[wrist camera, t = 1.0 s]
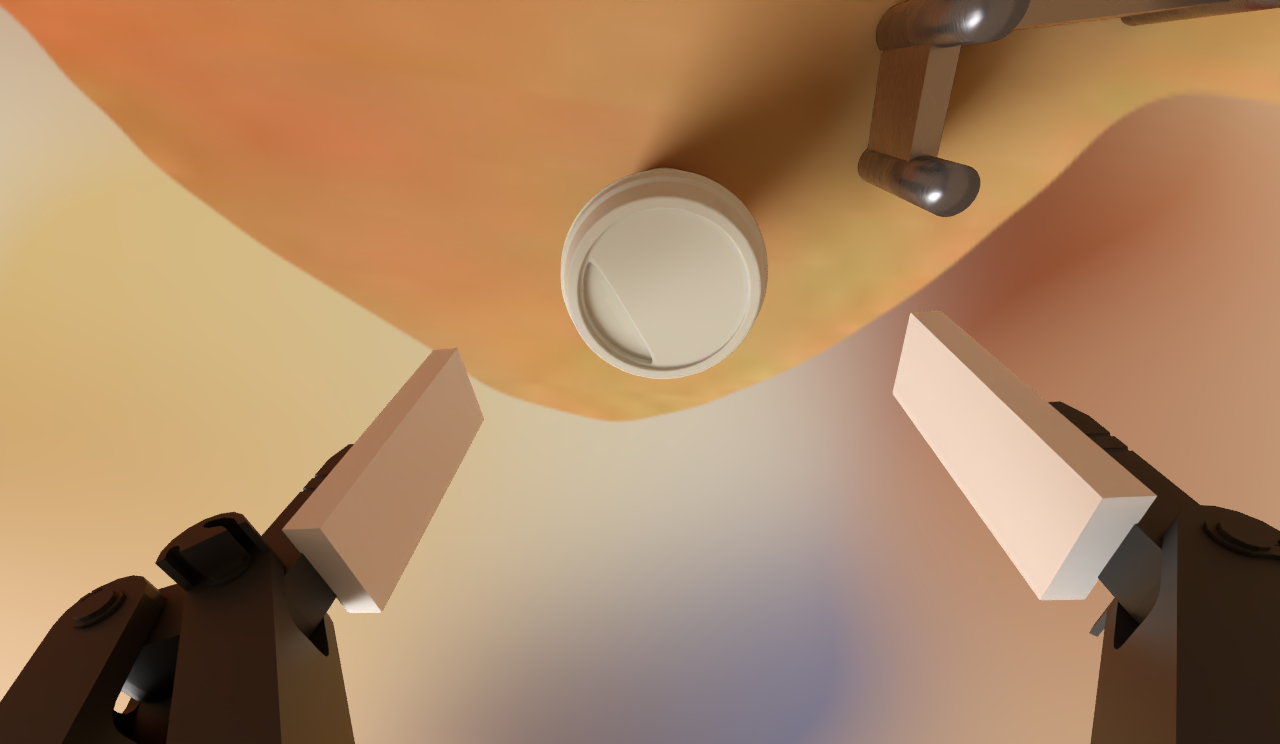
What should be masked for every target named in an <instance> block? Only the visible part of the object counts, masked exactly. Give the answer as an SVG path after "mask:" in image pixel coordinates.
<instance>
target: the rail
mask: <svg viewBox="0 0 1280 744" xmlns="http://www.w3.org/2000/svg"><path fill="white" fill-rule="evenodd" d="M1272 8H1280V0H910V1H907V2H904V3H901V4H898V5H896V6H894V7H892V8H890V9H889V10H888V11H887V12H886V13H885V14H884V15H883V17H882V18H881V20H880V22H879V24H878V27H877V31H876V42H877V45H878V47H879V48H880V50H881V51H882V54H881V61H880V68H879V75H878V82H877V89H876V96H875V102H874V109H873V116H872V123H871V130H870V137H869V144H868V149H867V150H866V151H865V152H864V153H863V154H862V156H861V158H860V160H859V163H858V172H859V175H860V177H861V178H862V179H863V180H865V181H867V182H869V183H871V184H873V185H875V186H877V187H879V188H881V189H883V190H885V191H887V192H889V193H892V194H894V195H896V196H898V197H900V198H902V199H904V200H906V201H908V202H910V203H912V204H914V205H916V206H919V207H921V208H923V209H925V210H927V211H929V212H931V213H933V214H935V215H937V216H941V217H949V216H953V215H956V214H958V213H960V212H962V211H964V210H965V209H966V208H967V207H969V206H970V205H971V203H972V202H973V201H974V200H975V198H976V196H977V194H978V192H979V188H980V177H979V175H978V173H977V171H976V170H975V169H973V168H972V167H970V166H967V165H963V164H959V163H955V162H952V161H948V160H944V159H941V158H937V155H938V150H939V146H940V141H941V136H942V132H943V127H944V123H945V118H946V113H947V109H948V104H949V100H950V95H951V90H952V86H953V81H954V77H955V72H956V67H957V63H958V58H959V54H960V49H961V46H963V45H970V44H978V43H986V42H992V41H996V40H999V39H1001V38H1003V37H1004V36H1006V35H1007V34H1009V33H1010V32H1011V31H1012V30H1020V29H1029V28H1037V27H1045V26H1053V25H1061V24H1070V23H1078V22H1086V21H1094V20H1103V19H1111V18H1119V17H1121V20H1122V21H1123V22H1124V23H1125V24H1127V25H1130V26H1136V25H1144V24H1152V23H1160V22H1168V21H1176V20H1184V19H1192V18H1200V17H1208V16H1216V15H1224V14H1232V13H1240V12H1248V11H1256V10H1264V9H1272Z"/></svg>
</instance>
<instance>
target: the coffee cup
mask: <svg viewBox="0 0 1280 744" xmlns="http://www.w3.org/2000/svg"><path fill="white" fill-rule="evenodd" d="M767 279H768V264H767V253H766V248H765V243H764V240H763V237H762V234H761V231H760V229H759V227H758V225H757V223H756V221H755V219H754V218H753V216H752V214H751V213H750V211H749V210H748V209H747V208H746V206H745V205H744V204H743V203H742V202H741V201H740V200H739V199H738V198H737V197H736V196H735V195H734V194H733V193H732V192H730V191H729V190H728V189H726V188H725V187H723V186H722V185H720V184H719V183H717V182H715V181H713V180H711V179H709V178H707V177H704V176H702V175H699V174H695V173H692V172H687V171H682V170H678V169H674V168H656V169H652V170H649V171H643V172H639V173H635V174H632V175H629V176H626V177H624V178H621V179H619V180H617V181H615V182H613V183H612V184H610V185H608V186H607V187H605V188H604V189H602V190H601V191H600V192H598V193H597V194H596V195H595V196H594V197H593V198H592V199H591V200H590V201H589V202H588V203H587V204H586V205H585V206H584V207H583V208H582V210H581V211H580V212H579V214H578V215H577V217H576V218H575V220H574V222H573V224H572V225H571V227H570V230H569V232H568V234H567V237H566V240H565V243H564V247H563V252H562V258H561V288H562V294H563V298H564V302H565V305H566V308H567V310H568V313H569V315H570V317H571V319H572V321H573V323H574V325H575V327H576V329H577V330H578V332H579V334H580V336H581V337H582V338H583V340H584V341H585V342H586V344H587V345H588V346H589V347H590V348H591V349H592V350H593V351H594V352H595V353H596V354H597V355H598V356H599V357H600V358H602V359H603V360H605V361H606V362H608V363H609V364H611V365H613V366H614V367H616V368H618V369H620V370H622V371H625V372H627V373H630V374H633V375H637V376H641V377H646V378H654V379H672V378H681V377H685V376H689V375H693V374H696V373H699V372H702V371H704V370H706V369H708V368H710V367H712V366H714V365H716V364H717V363H719V362H720V361H722V360H723V359H725V358H726V357H727V356H728V355H730V354H731V353H732V352H733V351H734V350H735V349H736V348H737V347H738V346H739V345H740V343H741V342H742V341H743V340H744V338H745V337H746V335H747V334H748V332H749V331H750V329H751V327H752V325H753V323H754V321H755V320H756V318H757V316H758V314H759V312H760V309H761V307H762V304H763V301H764V297H765V293H766V288H767Z"/></svg>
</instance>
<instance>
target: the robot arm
mask: <svg viewBox="0 0 1280 744" xmlns="http://www.w3.org/2000/svg"><path fill="white" fill-rule="evenodd" d="M893 395H894V396H895V398H896V399H897V401H898V402H899V403H900V405H901V406H902V408H903V409H904V410H905V412H906V413H907V415H908V416H909V417H910V419H911V420H912V422H913V423H914V424H915V426H916V427H917V429H918V430H919V431H920V433H921V434H922V436H923V437H924V438H925V440H926V441H927V443H928V444H929V445H930V447H931V448H932V450H933V451H934V452H935V454H936V455H937V457H938V458H939V459H940V461H941V462H942V464H943V465H944V466H945V468H946V469H947V470H948V472H949V473H950V475H951V476H952V477H953V479H954V481H955V482H956V483H957V485H958V486H959V488H960V489H961V490H962V492H963V493H964V494H965V496H966V497H967V498H968V500H969V502H970V503H971V504H972V506H973V507H974V508H975V510H976V511H977V512H978V514H979V516H980V517H981V518H982V520H983V521H984V522H985V524H986V525H987V527H988V528H989V529H990V531H991V532H992V534H993V535H994V537H995V538H996V539H997V541H998V542H999V543H1000V545H1001V546H1002V548H1003V549H1004V551H1005V552H1006V553H1007V555H1008V556H1009V558H1010V559H1011V560H1012V562H1013V563H1014V564H1015V566H1016V567H1017V568H1018V570H1019V572H1020V573H1021V574H1022V576H1023V577H1024V579H1025V580H1026V581H1027V583H1028V584H1029V586H1030V587H1031V588H1032V590H1033V591H1034V593H1035V594H1036V595H1037V597H1038V598H1039V599H1040V600H1077V599H1085V598H1086V597H1087V595H1088V594H1089V592H1090V591H1091V590H1092V588H1093V587H1094V585H1095V584H1096V582H1097V581H1098V580H1101V582H1102V583H1103V584H1104V585H1105V587H1106V588H1107V589H1108V590H1109V591H1110V592H1111V594H1112V595H1113V596H1114V597H1115V598H1114V599H1113V601H1112V602H1111V603H1110V605H1109V606H1108V607H1107V608H1106V610H1105V611H1104V612H1103V614H1102V615H1101V616H1100V618H1099V619H1098V620H1097V622H1096V623H1095V624H1094V626H1093V628H1092V629H1091V631H1090V633H1091V634H1093V635H1095V636H1099V634H1100V633H1101V632H1102V630H1103V629H1105V630H1104V639H1103V648H1102V655H1101V663H1100V671H1099V680H1098V688H1097V696H1096V704H1095V713H1094V721H1093V729H1092V737H1091V744H1280V531H1279V530H1277V529H1275V528H1273V527H1272V526H1269V525H1268V524H1266V523H1264V522H1263V521H1260V520H1258V519H1255V518H1253V517H1250V516H1248V515H1245V514H1243V513H1240V512H1237V511H1233V510H1229V509H1225V508H1221V507H1216V506H1204V505H1199V504H1198V503H1197V502H1196V501H1195V500H1193V499H1192V498H1191V497H1189V496H1188V495H1187V494H1186V493H1184V492H1183V491H1182V490H1181V489H1180V488H1178V487H1177V486H1176V485H1174V484H1173V483H1172V482H1171V481H1170V480H1168V479H1167V478H1166V477H1165V476H1163V475H1162V474H1161V473H1160V472H1158V471H1157V470H1156V469H1155V468H1153V467H1152V466H1151V465H1150V464H1148V463H1147V462H1146V461H1145V460H1143V459H1142V458H1141V457H1140V456H1138V455H1137V454H1136V453H1135V452H1133V451H1129V450H1128V447H1127V446H1126V445H1125V444H1124V443H1122V442H1121V441H1120V440H1119V439H1117V438H1116V437H1114V436H1110V433H1109V431H1107V430H1106V429H1105V428H1104V427H1102V426H1101V425H1100V424H1098V423H1097V422H1096V421H1095V420H1094V419H1092V418H1091V417H1090V416H1088V415H1087V414H1084V413H1082V412H1080V411H1078V410H1076V409H1074V408H1072V407H1070V406H1068V405H1066V404H1064V403H1062V402H1047V401H1045V400H1044V399H1043V398H1042V397H1041V396H1040V395H1039V394H1037V393H1036V392H1035V391H1034V390H1033V389H1032V388H1030V387H1029V386H1028V385H1027V384H1026V383H1025V382H1023V381H1022V380H1021V379H1020V378H1019V377H1017V376H1016V375H1015V374H1014V373H1013V372H1012V371H1010V370H1009V369H1008V368H1007V367H1006V366H1005V365H1003V364H1002V363H1001V362H1000V361H999V360H997V359H996V358H995V357H994V356H993V355H992V354H990V353H989V352H988V351H987V350H986V349H985V348H984V347H982V346H981V345H980V344H979V343H978V342H977V341H975V340H974V339H973V338H972V337H970V335H968V334H967V333H966V332H965V331H964V330H962V329H961V328H960V327H959V326H958V325H957V324H955V323H954V322H953V321H952V320H951V319H950V318H948V317H947V316H946V315H945V314H944V313H943V312H941V311H940V310H937V311H926V312H925V311H924V312H912V313H910V318H909V322H908V327H907V331H906V336H905V340H904V345H903V349H902V354H901V358H900V363H899V368H898V372H897V376H896V381H895V385H894V390H893ZM483 420H484V418H483V415H482V412H481V410H480V407H479V404H478V402H477V399H476V396H475V394H474V391H473V388H472V386H471V383H470V380H469V378H468V375H467V372H466V370H465V367H464V364H463V362H462V359H461V356H460V354H459V351H458V348H454V349H441V350H433V351H432V353H431V354H430V355H429V356H428V357H427V359H426V360H425V361H424V362H423V363H422V364H421V366H420V367H419V368H418V369H417V370H416V372H415V373H414V374H413V375H412V376H411V378H410V379H409V380H408V381H407V382H406V383H405V385H404V386H403V387H402V388H401V389H400V390H399V392H398V393H397V394H396V395H395V396H394V398H393V399H392V400H391V401H390V402H389V404H388V405H387V406H386V407H385V408H384V409H383V411H382V412H381V413H380V414H379V416H378V417H377V418H376V419H375V420H374V421H373V422H372V424H371V425H370V426H369V427H368V428H367V430H366V431H365V432H364V433H363V434H362V435H361V437H360V438H359V439H358V440H357V442H356V443H355V444H349V445H348V446H346V447H345V448H344V449H342V450H341V451H339V452H338V453H337V454H335V455H334V456H332V457H331V458H330V459H329V460H328V461H327V462H326V463H325V464H324V465H323V467H322V468H321V469H320V470H319V471H318V472H317V474H315V478H312V479H311V480H310V481H309V482H308V484H307V485H306V486H305V487H304V488H303V489H304V491H303V492H300V493H299V494H298V495H297V496H296V497H295V498H294V500H293V501H292V502H291V503H290V504H289V505H288V506H287V508H286V509H285V510H284V511H283V512H282V513H281V514H280V515H279V517H278V518H277V519H276V520H275V521H274V522H273V524H272V525H271V526H270V527H269V528H268V529H267V530H266V532H265V533H264V534H263V535H262V536H261V535H260V534H259V533H258V532H257V531H256V530H255V528H254V527H253V526H252V525H251V524H250V522H249V521H248V520H247V519H246V518H245V517H244V515H242V514H239V513H236V512H230V513H223V514H219V515H216V516H213V517H211V518H207V519H205V520H203V521H201V522H199V523H197V524H195V525H194V526H192V527H190V528H188V529H187V530H185V531H184V532H182V533H181V534H180V535H179V536H177V537H176V538H175V539H173V540H172V541H171V542H170V543H169V544H168V545H167V546H166V547H165V548H164V549H163V550H162V552H161V553H160V555H159V557H158V559H157V561H156V564H157V565H158V566H159V567H160V568H161V569H162V570H163V571H164V572H165V573H167V574H168V575H169V576H170V577H171V578H172V579H173V580H174V581H175V582H176V583H177V584H175V585H171V586H168V587H165V588H161V589H157V588H156V587H154V586H153V585H152V584H151V583H150V582H149V581H147V580H146V579H145V578H144V577H142V576H134V575H133V576H129V577H124V578H120V579H117V580H115V581H112V582H110V583H108V584H106V585H103V586H101V587H99V588H97V589H95V590H93V591H92V593H88V594H87V595H85V596H84V597H82V598H81V599H80V600H79V601H78V602H77V603H75V604H74V605H73V606H72V607H71V608H69V609H68V610H67V611H66V612H65V613H64V614H63V615H62V616H61V617H60V618H59V619H58V621H57V622H56V623H55V624H54V625H53V626H52V628H51V629H50V631H49V632H48V634H47V635H46V637H45V638H44V640H43V641H42V642H41V644H40V645H39V647H38V648H37V650H36V651H35V653H34V654H33V656H32V657H31V658H30V660H29V661H28V663H27V664H26V666H25V667H24V669H23V670H22V671H21V673H20V674H19V676H18V677H17V679H16V681H15V682H14V683H13V685H12V686H11V687H10V689H9V690H8V692H7V693H6V695H5V696H4V698H3V699H2V700H1V702H0V744H355V742H354V737H353V731H352V725H351V719H350V714H349V708H348V703H347V697H346V692H345V686H344V680H343V675H342V670H341V664H340V658H339V653H338V647H337V642H336V636H335V630H334V625H333V622H332V620H331V618H330V617H329V615H328V614H327V613H326V612H327V611H328V609H329V608H330V606H331V604H332V603H333V601H334V600H335V598H337V599H338V600H339V601H340V603H341V604H342V605H343V606H344V608H345V609H346V610H347V611H348V613H372V612H373V613H375V612H382V611H383V609H384V608H385V606H386V604H387V602H388V600H389V598H390V596H391V594H392V592H393V590H394V588H395V587H396V585H397V583H398V581H399V579H400V577H401V575H402V573H403V572H404V569H405V568H406V566H407V564H408V562H409V560H410V558H411V556H412V554H413V553H414V551H415V549H416V547H417V545H418V543H419V541H420V539H421V538H422V536H423V534H424V532H425V530H426V528H427V526H428V524H429V522H430V520H431V518H432V517H433V515H434V513H435V511H436V509H437V507H438V505H439V503H440V502H441V499H442V498H443V496H444V494H445V492H446V490H447V488H448V486H449V485H450V483H451V481H452V479H453V477H454V475H455V473H456V471H457V469H458V468H459V465H460V464H461V462H462V460H463V458H464V456H465V454H466V452H467V450H468V449H469V447H470V445H471V443H472V441H473V439H474V437H475V435H476V433H477V431H478V430H479V428H480V426H481V424H482V422H483ZM121 691H122V692H124V693H126V694H127V695H129V696H130V697H131V699H130V701H129V703H128V705H127V707H126V709H125V710H124V712H123V713H122V714H121V713H117V712H116V711H114V706H115V702H116V700H117V697H118V695H119V694H120V692H121Z"/></svg>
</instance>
